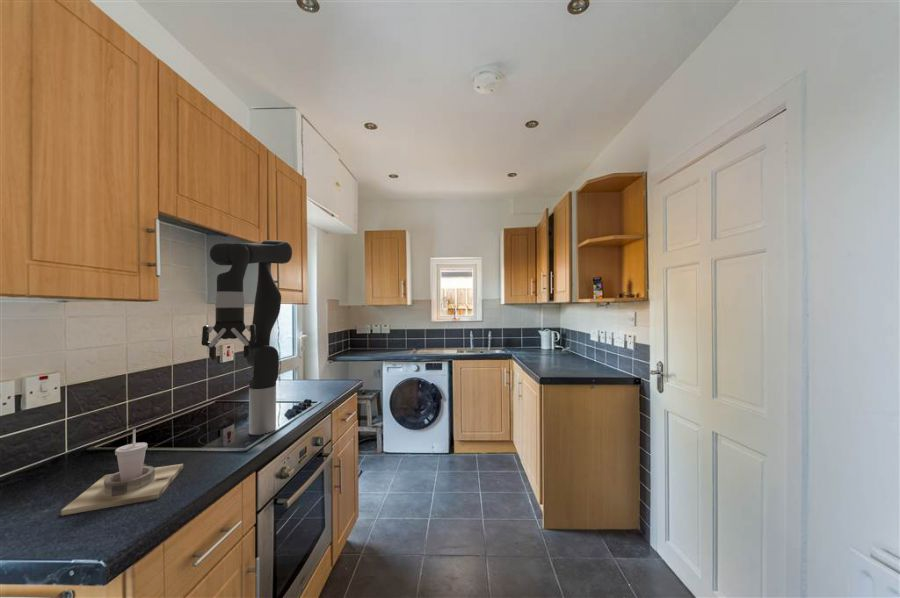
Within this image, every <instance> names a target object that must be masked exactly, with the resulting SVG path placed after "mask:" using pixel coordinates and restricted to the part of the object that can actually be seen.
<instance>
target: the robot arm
mask: <svg viewBox="0 0 900 598" xmlns="http://www.w3.org/2000/svg"><path fill="white" fill-rule="evenodd" d="M292 249H293V248H292V246H291V244H290V243H289V242H287V241H283V240H273V239H265V240H262V241H261V243H255V242H247V243H246V242H245V243H243V242H242V243H241V242H218V243H215V244H214V245H212V247H211V248H210V249H209V258H210V259H211V261H213V262H214V263H215V264H216V265H219V266H231V267H230V269H229V270H228V271H225V272H221V273H219V274H218V275H217V276H216V295H215V305H214V306H215V322H214V323H215V324H214V325H204V326H202V330H201V331H202V332H201V333H202V334H201V345H202V346H204V347H208V349H209V350H208V357H209V358H210V359H211V360H216V359H217V346H216V345H217V344H218V343H219V342H220V341H221V340H222V339H223V340H228V339H231V340H236V339H238V340H239V341H240V342H242V343H243V358H244V359H246V363H247V364H248V365H249V366H250V367H251V368H253V375H252V378H251V379H250V380H249V383H248V434H249V435H251V436H262V434H263V435H266V434H265V433H267V434H269V433H268V432H270V433H272V432H271V431H273V430H275V429H276V430H277V380H278V377H279V371H280V370H279V369H280V367H279V366H280V356H279V351H278V349H277V348H276V347H274V346H272V345H271V344H270V343H271V334H272V330H273V328H274V327H275V326H274V325H276V322H277V320H278V318H279V315H280V312H281V303H282V294H281V292H280V289H279V287H278V285H277V284H276V282H275V280H274V278H273V275H272V274H273V273H272V264H280V265H281V264H282V265H283V264H288V263H290V261H291V259H292V257H293V250H292ZM257 263H258V267H257V268H258V270H257V272H258V274H257V283H256V292H255V297H254V306H253V316H252V323H251V324H247V325H246V324H245V297H244V278H245V276H246V272H247V268H248V266H249V265H251V264H257ZM246 329H247V332H249V333H250V337H249V340H248V338H247V337H246V336H245V334H243V332H244V331H246ZM212 331H215V333H216V335H215V336H214V338H212V341H209V340H210V333H212ZM276 430H275V431H276ZM273 432H274V431H273Z"/></svg>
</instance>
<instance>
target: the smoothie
mask: <svg viewBox="0 0 900 598" xmlns="http://www.w3.org/2000/svg"><path fill="white" fill-rule="evenodd" d="M136 431H137V430H136V428H134V429H133V430H132V443H129V444H125V445H122V446H119V447H117V448H116V449H115V450H114V453H115V454H114V455H115V456H116V458H117V459H116V460H117V465H118V470H119V471H118V472H120V479H121V481H127V480H131V479H134V478H138V477H140V476H142V470H143V464H145V457H146V450H147V448H148V443H147V442H144V441H143V442H136V439H137V438H136Z"/></svg>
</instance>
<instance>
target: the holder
mask: <svg viewBox="0 0 900 598" xmlns="http://www.w3.org/2000/svg"><path fill="white" fill-rule="evenodd" d="M183 469H184V463H179V464H171V465H164V466H157V467H154V466H152V465H147V463H144V464H143V470H142V476H140V477H138V478H134V479H131V480H127V481H121V479H120V472H119V471H117V472H115V473H111V474H110V473H109V474H104V475H103V476H102V477H101V478H100V479H98V480H97V481H96V482H95V483H93V484H92V485H91V486H90V487H88V488H87V489H86V490H85V491H83V492H82V493H81V494H79V495H78V496H77V497H75V498H74V499H73V500H72V501H70V503H68V504H67V505H66V506H65V507H63V508H62V509H61V510H60V516H67V515H72V514H77V513H78V514H79V513H83V512H90V511H95V510H102V509H107V508H111V507H118V506H125V505H129V504H135V503H141V502H149V501H154V500H158V499H159V498H160V497H161V496H162V495H163V493H164V492H165V491H166V489H167V488H168V487H169V486H170V484H171V483H172V482H173V481H174V480H175V478H176V477H177V476H178V475H179V473H181V471H182V470H183Z"/></svg>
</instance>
